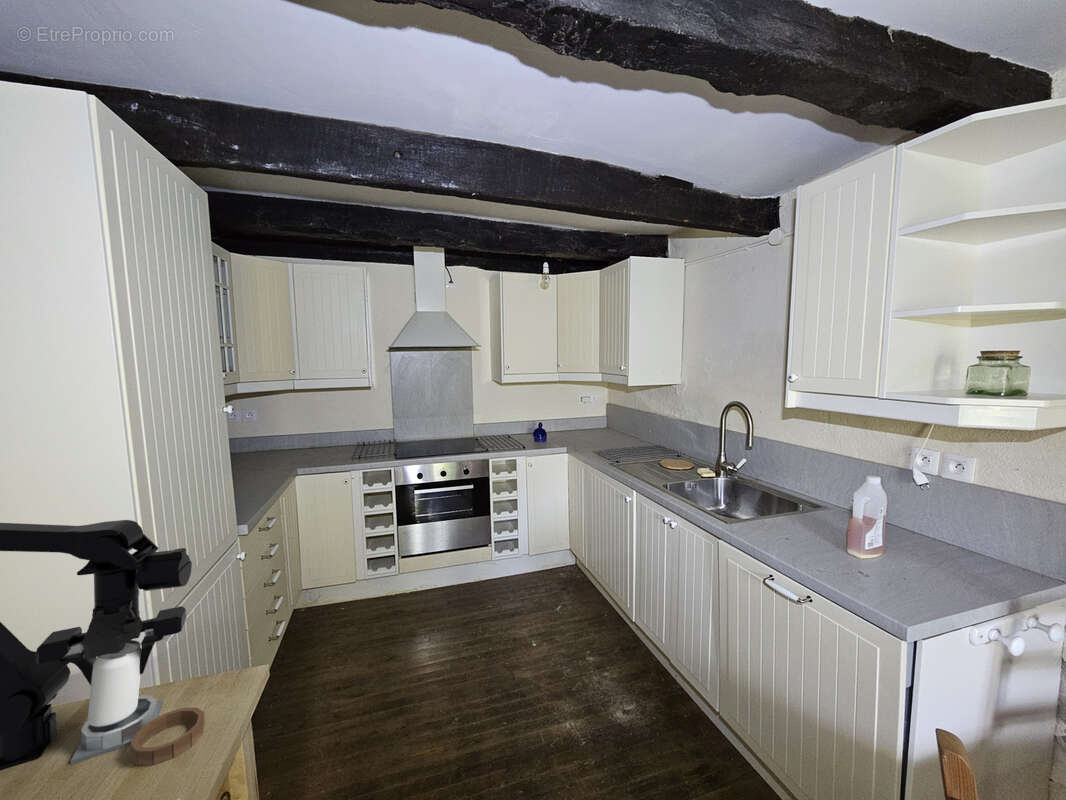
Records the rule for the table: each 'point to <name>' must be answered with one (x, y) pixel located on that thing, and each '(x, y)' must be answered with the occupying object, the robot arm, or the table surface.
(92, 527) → the robot arm
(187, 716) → the brown segmented ring
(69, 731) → the table surface
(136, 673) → the can
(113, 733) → the dock
